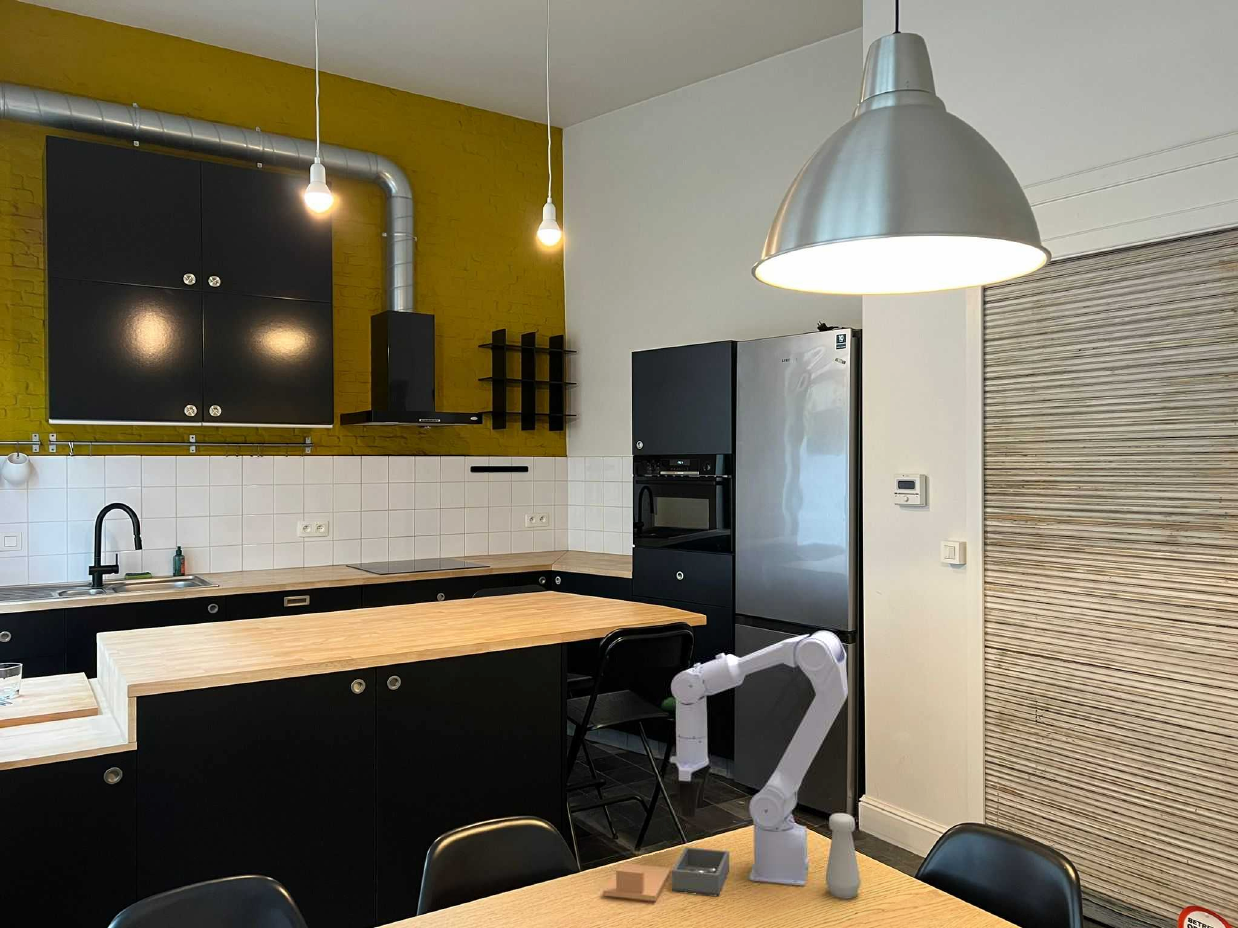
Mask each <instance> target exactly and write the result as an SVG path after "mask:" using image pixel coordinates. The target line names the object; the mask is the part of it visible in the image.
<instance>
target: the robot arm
mask: <svg viewBox="0 0 1238 928" xmlns="http://www.w3.org/2000/svg"><path fill="white" fill-rule="evenodd" d="M780 664H784V665H786V666H789V667H791V668H795V667H797V666H799V668H800V669H801V671H802V672H803V673H804V674H805V675H806V677H807V678H808V680H810V682H811V685H812V688H813V690H814V692H815V696H814V698H813V700H812V702H811V704H810V706H809V708H808V709H807V710H806V711H807V712H806V713H805V715H804V716H803V719H802V720H801V722H800V724H799V725H798V727H797V729H796V731H795V734H794V735H793V737H792V740H791V741H790V743H789V744H788V747H787V748H786V750H785V751H784V754H783V756H782V758H781V759H780V761H779V763H778V765H777V767H776V768H775V770H774V772H773V773H772V775H771V776H770V778H769V780H768V781H767V783H766V784H765V785H764V787H763V788H762V789H761V790H760V791H759V792H757V793H756V794H755V795H754V796H753V797H752V798H751V799H750V802H749V807H748V809H749V814H750V817H751V819H752V821H753V865H752V869H751V872H750V873H749V877H748V879H749V880H750V881H755V882H762V883H764V882H765V883H773V884H784V885H793V886H801V887H802V886H805V884H806V882H807V881H806V880H807V876H808V871H809V865H810V864H809V859H808V831H807V830H808V828H807V826H805V825H800V824H798V823H795V819H794V815H793V814H792V811H793V810H794V809H795V808H796V806H797V802H798V791H799V788H800V786H801V784H802V782H803V779H804V777H805V775H806V773H807V771H808V770H809V768H810V766H811V763H812V762H813V760H814V758H815V757H816V755H817V753H818V751H819V749H820V747H821V745H822V744H823V742H824V740H825V738H826V736H827V734H828V733H829V731H830V729H831V727H832V725H833V724H834V721H835V720H836V718H837V716H838V714H839V712H840V711H841V709H842V707H843V705H844V704H845V702H846V700H847V697H848V695H849V687H848V677H847V676H848V675H847V673H848V672H847V652H846V650H845V649H844V646H843V644H842V642H841V640H840V638H839V637H838V636H837V635H836V634H835V633H833V632H832V631H827V630H819V631H816V632H814V633H813V634H811V635H810V633H808V634H803V635H800V636H799V635H798V636H795V637H792V638H791V637H790V638H786V639H784V640H782V641H780V642H777V643H775V644H772V645H769V646H767V647H764V648H762V649H760V650H757V651H755V652H754V651H753V652H752V653H749V654H747V655H744V656H742V657H739V656H735V655H734V654H730V653H729V654H727V655H726V654H725V653H724V652H722V653H719V654H717V655H715V659H712V660H709V661H707V662H705V663H703V664H701V662H697V663H694V665H693V667H691V668H689V669H686V670H683V671H681V672H679V673H678V674H676V675H675V676H674V677H673V679H672V681H671V684H670V690H671V693H672V696H673V697H674V698H675V738H676V739H675V740H676V741H675V742H676V755H675V756H670V758H669V761H670V763H671V764H676V767H677V769H678V774H673V775H672V776H671V778H670V779H671V780H670V782H671V784H672V786H673V788H674V790H675V792H676V794H677V798H678V803H679V807H680V812H681V814H682V817H684V818H686V817H687V818H694V817H695V815H696V811H697V805H698V804H703V801H704V796H705V791H706V790H705V789H706V784H707V781H708V780H707V779H708V776H709V772H710V771H711V768H712V767H713V763H712V762H710V761H709V756H708V710H707V709H708V708H707V696H713V695H716V694H717V693H720V692H723V691H726V690H728V689H732V688H734V687H738V686H741V685H742V683H743V682H744V679H745V677H746V675H749V674H752V673H755V672H758V671H761V670H765V669H767V668H771V667H774V666H777V665H780Z"/></svg>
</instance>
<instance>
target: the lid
mask: <svg viewBox="0 0 1238 928" xmlns="http://www.w3.org/2000/svg"><path fill="white" fill-rule="evenodd" d="M670 875H672V868H671V867H664V866H657V865H655V866H654V865H646V864H645V865H643V864H635V863H625V862H624V863H621V865H620V866H619V867H617V869H616V870H615V873H614V874H613V876H612V877H611V879H610V880H609V882H608V883H607V884H606V886H605V887H604V889H603V890H602V896H606V897H616V898H626V899H633V900H642V901H643V900H644V901H653V902H656V901H657V899H658V897H659V896H660V893H661V892H662V890H663V889H664V888H665V887H664V886H665V885H666V882H668V880H669V878H670Z"/></svg>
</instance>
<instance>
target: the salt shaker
mask: <svg viewBox="0 0 1238 928" xmlns="http://www.w3.org/2000/svg"><path fill="white" fill-rule="evenodd" d="M828 818H829V820H828V825H829V826H828V827H829V829H830V830H831V831H832V834H831V840H830V841H831V842H830V848H829V854H828V855H829V856H828V861H827V867H826V872H825V884H826V885H827V888H828V890H829V893H830V894H831V895H832V896H833V897H835V898H837V899H845V900H850V899H853V898H855V897H856V896H857V894H858V891H859V889H860V887H861V885H862V884H861V882H862V880H861V875H860V870H859V865H858V860H857V855H856V850H855V849H856V848H855V843H854V838H853V835H852V834H853V833H852V832H854V831H855V830H856V822H855V818H854V817H853V816H851V815H850V814H848V813H843V812H838V813H832V814H831V815H830V816H829V817H828Z"/></svg>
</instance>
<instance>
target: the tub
mask: <svg viewBox="0 0 1238 928" xmlns="http://www.w3.org/2000/svg"><path fill="white" fill-rule="evenodd" d="M728 873H729V874H730V851H729V850H720V849H719V850H717V849H709V848H698V847H688V846H686V847H684V849H683V851H682V853H681V855H680V856H679V858H678V859H677V861H676V863H675V865H673V868H672V869H671V891H676V892H675V893H681V892H687V893H686V894H690V893H696V894H695V895H699V894H701V895H702V896H708V895H713V896H712V897H717V896H719V897H720V895H721V893H722V891H723V888H724V886H723V885H725V883H726V881H727V878H728V876H729V874H728ZM727 875H728V876H727ZM725 880H726V881H725ZM724 882H725V883H724ZM722 887H723V888H722ZM720 892H721V893H720ZM714 895H716V896H714Z"/></svg>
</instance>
